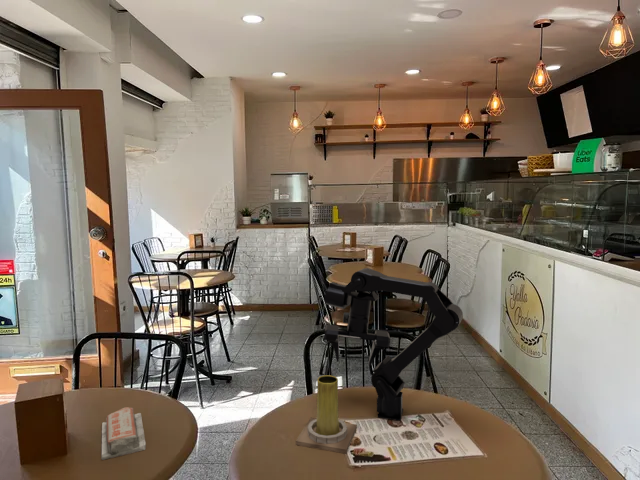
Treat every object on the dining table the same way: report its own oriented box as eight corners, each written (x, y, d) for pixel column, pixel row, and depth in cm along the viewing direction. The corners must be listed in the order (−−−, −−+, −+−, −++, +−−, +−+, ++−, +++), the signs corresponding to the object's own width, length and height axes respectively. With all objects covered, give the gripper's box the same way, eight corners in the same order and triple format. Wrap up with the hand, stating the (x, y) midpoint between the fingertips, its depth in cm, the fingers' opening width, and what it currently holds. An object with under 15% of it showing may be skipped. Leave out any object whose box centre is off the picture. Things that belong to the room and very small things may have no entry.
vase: (343, 435, 112) (343, 381, 110) (321, 440, 109) (321, 386, 108) (333, 424, 117) (333, 372, 116) (312, 428, 115) (312, 376, 113)
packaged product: (145, 432, 107) (100, 443, 103) (146, 451, 108) (101, 462, 104) (140, 401, 123) (101, 409, 119) (141, 417, 124) (102, 426, 120)
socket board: (356, 428, 117) (357, 419, 117) (346, 453, 106) (346, 443, 105) (310, 420, 121) (310, 412, 121) (295, 444, 110) (295, 435, 109)
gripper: (389, 307, 133) (383, 355, 136) (328, 300, 134) (323, 348, 136) (393, 319, 122) (386, 372, 125) (326, 311, 123) (321, 364, 125)
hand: (353, 363), depth 128 cm, fingers open, 9 cm apart
